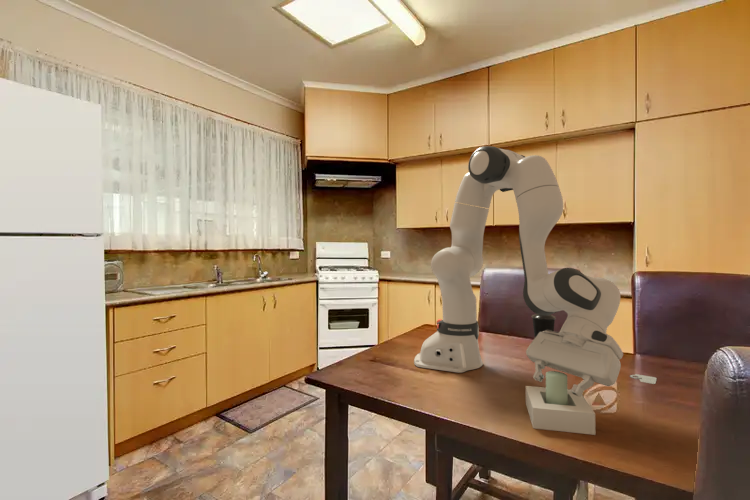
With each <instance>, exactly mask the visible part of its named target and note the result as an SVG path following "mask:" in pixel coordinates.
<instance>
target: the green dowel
mask: <svg viewBox="0 0 750 500" xmlns="http://www.w3.org/2000/svg"><path fill="white" fill-rule="evenodd" d="M545 388H546V404H557V405H568V401H567V389H568V375H567V373H565V372H562V371H558V370H556V371H555V370H550V371H549V370H548V371H546V372H545Z"/></svg>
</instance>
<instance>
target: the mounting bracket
mask: <svg viewBox="0 0 750 500" xmlns="http://www.w3.org/2000/svg"><path fill="white" fill-rule="evenodd" d="M629 377H630V378H631V379H635V380H639V381H640V382H641V383H646V384H650V385H651V384H652V385H655V384H656V383H657V377H655V376H649V375H643V374H638V373H635V374H630V375H629Z"/></svg>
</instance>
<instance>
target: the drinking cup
mask: <svg viewBox="0 0 750 500" xmlns="http://www.w3.org/2000/svg"><path fill="white" fill-rule="evenodd" d="M531 318H532V325H533V334H534V338H535V337H536V336H537V335H538V333H539V332H542V331H545V330H550V331H553V332H555V331H554V330H555V322H556V321H555V320H556V319H557V318H556V316H554V315H553V314H551V315H547V316H542V315H539V314H536V313H534V314H532V315H531Z"/></svg>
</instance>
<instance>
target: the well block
mask: <svg viewBox="0 0 750 500" xmlns="http://www.w3.org/2000/svg"><path fill="white" fill-rule="evenodd" d="M571 389H572V388H571ZM571 389H569V388H567V401H568V405H557V404H546V386H545V387H544V386H542V387H541V386H530V385H525V406H526V409H527V411H528V415H529V420H530V422H531V425H532V429H537V430H546V431H555V432H557V431H558V432H564V433H565V432H567V433H572V434H573V433H575V434H585V435H594V436H596V413H595V411H594V410H593V407H592V406H591V405H590V404H589V401H587V399H586V397H585V396H584V395H583V394H582V395H581V397H579V396H577V395H574V394H573V393H572V392H571Z"/></svg>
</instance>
